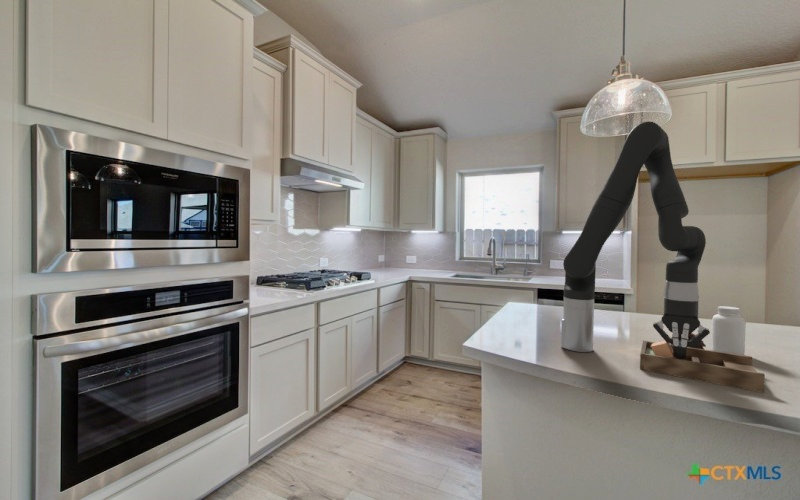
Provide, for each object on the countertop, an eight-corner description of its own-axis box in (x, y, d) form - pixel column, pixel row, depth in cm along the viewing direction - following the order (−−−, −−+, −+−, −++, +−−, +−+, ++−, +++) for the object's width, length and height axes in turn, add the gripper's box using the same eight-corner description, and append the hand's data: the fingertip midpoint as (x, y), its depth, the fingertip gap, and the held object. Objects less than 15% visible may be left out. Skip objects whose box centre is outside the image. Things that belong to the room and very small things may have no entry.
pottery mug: (718, 361, 109) (711, 340, 106) (686, 373, 110) (679, 352, 108) (688, 340, 120) (682, 321, 118) (660, 351, 122) (653, 332, 120)
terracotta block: (657, 360, 101) (650, 346, 102) (659, 356, 104) (652, 343, 105) (673, 357, 99) (666, 343, 100) (674, 353, 102) (667, 340, 103)
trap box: (639, 369, 101) (640, 353, 101) (642, 354, 114) (643, 340, 114) (763, 392, 86) (764, 374, 86) (751, 372, 99) (751, 356, 99)
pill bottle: (704, 349, 119) (706, 305, 118) (726, 349, 119) (728, 305, 119) (728, 357, 111) (730, 310, 110) (751, 357, 111) (753, 309, 111)
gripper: (711, 298, 97) (709, 360, 98) (652, 293, 105) (650, 351, 106) (714, 302, 91) (712, 368, 92) (651, 297, 99) (650, 358, 100)
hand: (679, 359), depth 99 cm, fingers closed
